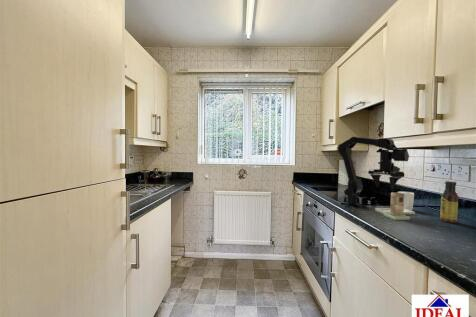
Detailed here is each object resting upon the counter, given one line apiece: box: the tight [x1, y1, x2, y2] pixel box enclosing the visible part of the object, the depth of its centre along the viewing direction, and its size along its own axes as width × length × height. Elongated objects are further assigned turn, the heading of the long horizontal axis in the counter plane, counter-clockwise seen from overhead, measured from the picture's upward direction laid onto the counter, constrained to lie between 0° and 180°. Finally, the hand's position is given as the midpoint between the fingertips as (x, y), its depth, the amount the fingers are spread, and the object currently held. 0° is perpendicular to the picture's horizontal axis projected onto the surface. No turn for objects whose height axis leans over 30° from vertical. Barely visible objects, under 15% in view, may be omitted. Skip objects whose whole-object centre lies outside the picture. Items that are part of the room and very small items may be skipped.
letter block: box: [389, 191, 404, 217], centre depth 121 cm, size 4×4×12 cm
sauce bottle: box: [439, 180, 459, 224], centre depth 116 cm, size 7×6×20 cm
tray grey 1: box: [374, 207, 390, 215], centre depth 131 cm, size 8×8×2 cm
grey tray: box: [403, 209, 416, 216], centre depth 132 cm, size 8×8×2 cm
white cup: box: [397, 191, 415, 211], centre depth 140 cm, size 8×8×10 cm
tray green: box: [383, 213, 411, 221], centre depth 121 cm, size 8×8×2 cm
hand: (384, 188), depth 135 cm, fingers open, 9 cm apart
